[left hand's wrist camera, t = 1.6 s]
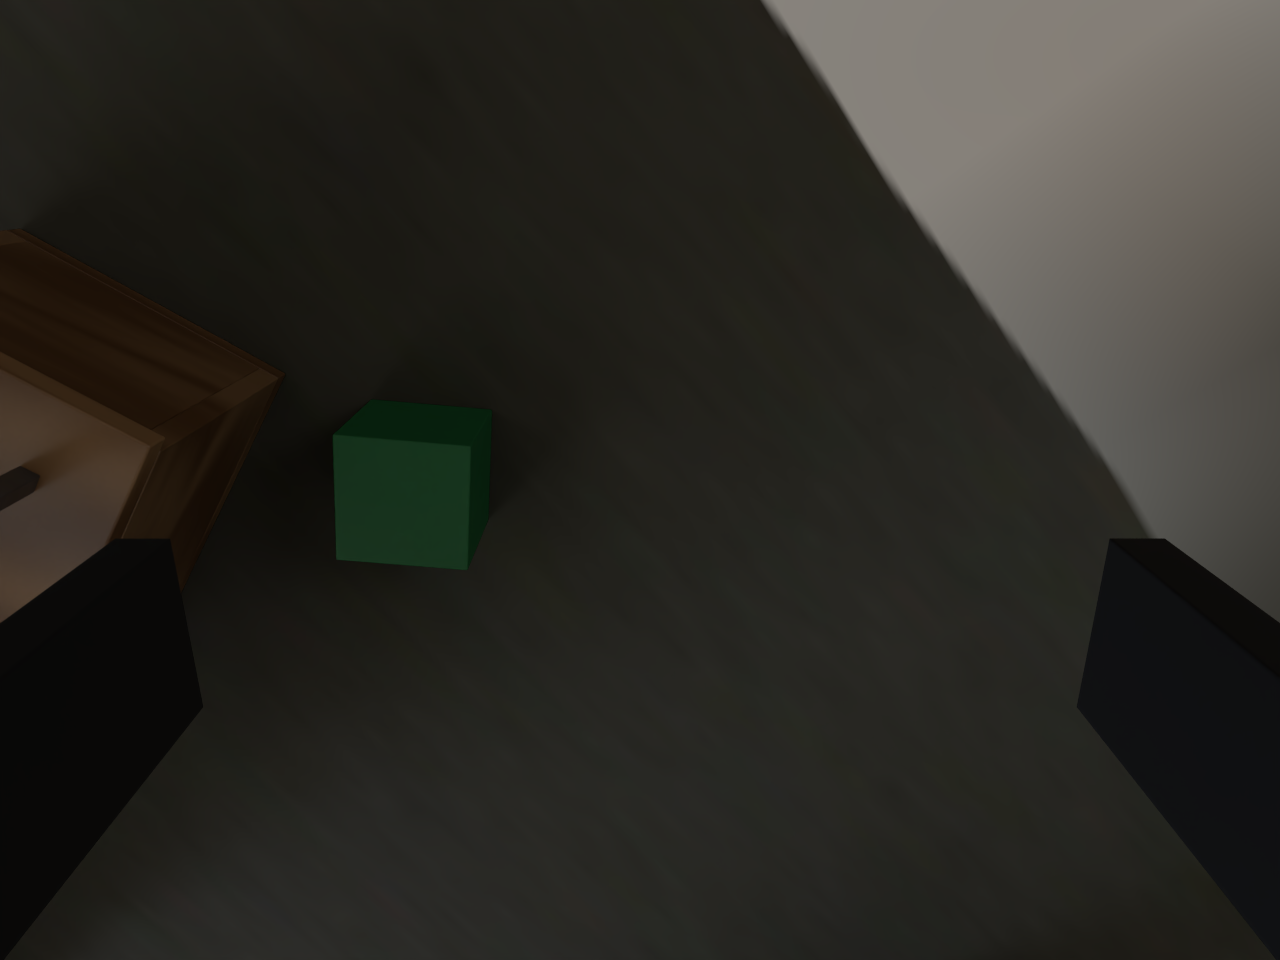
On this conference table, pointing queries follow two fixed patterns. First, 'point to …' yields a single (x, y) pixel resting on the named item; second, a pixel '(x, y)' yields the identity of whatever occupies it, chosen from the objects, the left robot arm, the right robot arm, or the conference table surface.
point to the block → (412, 484)
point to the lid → (61, 479)
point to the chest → (140, 382)
